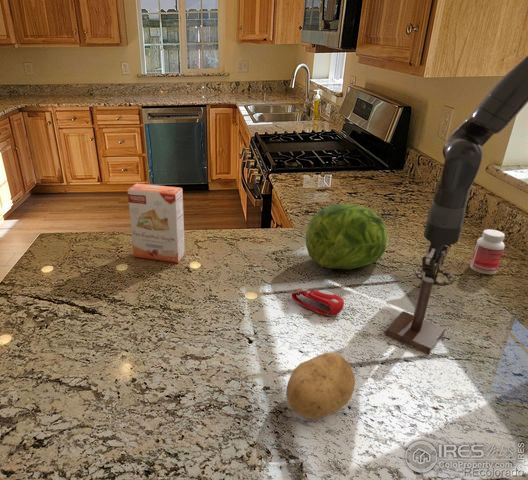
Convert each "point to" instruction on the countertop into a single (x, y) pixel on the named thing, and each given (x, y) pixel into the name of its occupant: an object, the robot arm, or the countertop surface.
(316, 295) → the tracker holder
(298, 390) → the potato
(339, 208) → the lettuce
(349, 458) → the countertop surface
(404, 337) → the post
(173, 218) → the cracker box
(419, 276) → the ring
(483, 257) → the pill bottle
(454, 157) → the robot arm
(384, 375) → the countertop surface
